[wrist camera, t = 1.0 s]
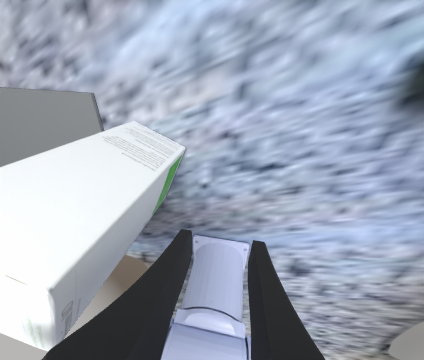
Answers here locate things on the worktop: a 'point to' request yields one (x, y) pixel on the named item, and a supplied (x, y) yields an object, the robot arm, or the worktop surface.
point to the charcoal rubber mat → (43, 121)
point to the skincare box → (75, 224)
